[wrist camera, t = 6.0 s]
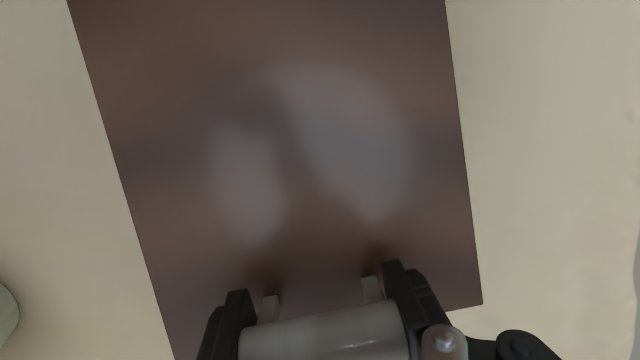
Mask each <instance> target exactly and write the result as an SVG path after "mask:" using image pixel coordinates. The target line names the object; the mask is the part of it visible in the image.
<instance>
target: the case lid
mask: <svg viewBox="0 0 640 360" xmlns="http://www.w3.org/2000/svg"><path fill="white" fill-rule="evenodd" d="M66 1H67V4H68V7H69V11H70V14H71V17H72V21H73V24H74V27H75V31H76V34H77V37H78V40H79V44H80V47H81V50H82V54H83V57H84V60H85V64H86V67H87V70H88V74H89V77H90V80H91V84H92V87H93V90H94V93H95V97H96V100H97V103H98V107H99V110H100V113H101V117H102V120H103V123H104V127H105V130H106V133H107V137H108V140H109V143H110V146H111V150H112V153H113V156H114V160H115V163H116V166H117V170H118V173H119V176H120V180H121V183H122V186H123V190H124V193H125V196H126V199H127V203H128V206H129V209H130V213H131V216H132V219H133V223H134V226H135V229H136V233H137V236H138V239H139V243H140V246H141V249H142V252H143V256H144V259H145V262H146V266H147V269H148V272H149V276H150V279H151V282H152V286H153V289H154V292H155V296H156V299H157V302H158V305H159V309H160V312H161V315H162V319H163V322H164V325H165V329H166V332H167V335H168V339H169V342H170V345H171V349H172V352H173V355H174V358H175V360H196V358H197V355H198V351H199V348H200V345H201V342H202V340H203V335H204V332H205V330H206V325H207V322H208V319H209V317H210V315H211V314H212V313H213V311H214V310H215V309H216V307H218V306H223V305H224V304H225V300H226V297H227V293H228V292H229V291H233V290H238V289H243V288H247V289H248V291H249V293H250V296H251V299H252V302H253V305H254V308H255V311H256V314H257V322H256V326H251V327H246V328H244V329H242V331H241V333H240V336H239V341H238V360H409V359H410V350H409V344H408V339H407V334H406V330H405V326H404V323H403V319H402V316H401V313H400V310H399V308H398V305H397V303H396V301H395V300H394V299H386V295H385V289H384V282H383V274H382V267H381V262H382V261H387V260H392V259H397V258H399V259H400V261H401V263H402V265H403V267H404V269H405V270H408V269H413V268H415V269H416V270H418V271H419V272H420V273H422V274H423V275H424V276H425V278H426V280H427V281H428V283H429V285H430V287H431V289H432V290H433V292H434V295H435V296H436V297H437V299H438V301H439V303H440V305H441V306H442V308H443V310H444V312H448V311H453V310H458V309H463V308H468V307H473V306H478V305H482V304H483V298H482V290H481V282H480V274H479V267H478V259H477V251H476V243H475V235H474V227H473V219H472V211H471V204H470V196H469V188H468V180H467V172H466V164H465V156H464V148H463V141H462V133H461V125H460V117H459V109H458V101H457V93H456V85H455V78H454V70H453V62H452V54H451V46H450V38H449V30H448V22H447V15H446V7H445V0H66Z"/></svg>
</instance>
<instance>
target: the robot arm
mask: <svg viewBox="0 0 640 360" xmlns="http://www.w3.org/2000/svg"><path fill="white" fill-rule="evenodd" d="M381 267H382V274H383V282H384V289H385V295H386V299H394V300H395V301H396V303H397V305H398V308H399V310H400V313H401V316H402V319H403V323H404V326H405V330H406V334H407V339H408V344H409V350H410V359H409V360H562V359H561V358H560V357H558V356H557V355H556V354H555V353H554V352H553V351H552V350H551V349H550V348H549V347H548V346H546V345H545V344H544V343H543V342H542V341H541V340H540V339H539V338H537V337H536V336H534V335H532V334H530V333H528V332H525V331H522V330H506V331H504V332H502V333H500V334H499V335H498V336H497V339H496V341H491V340H480V339H474V338H470V337H468V336H465V335H464V334H463V333H462V332H461V331H460V330H458V329H457V328H455V327H453V326H452V324H451V323H450V321H449V319H448V317H447V315H446V314H445V312H444V310H443V308H442V306H441V305H440V303H439V301H438V299H437V297H436V296H435V295H434V292H433V290H432V289H431V287H430V285H429V283H428V281H427V280H426V278H425V276H424V275H423V274H422V273H420V272H419V271H418V270H416V269H415V268H413V269H408V270H405V269H404V267H403V265H402V263H401V261H400V259H399V258H397V259H392V260H387V261H382V262H381ZM256 322H257V314H256V311H255V308H254V305H253V302H252V299H251V296H250V293H249V291H248V289H247V288H243V289H238V290H233V291H229V292H228V293H227V297H226V300H225V304H224V305H223V306H218V307H216V309H215V310H214V311H213V313H212V314H211V315H210V317H209V319H208V322H207V325H206V330H205V332H204V335H203V340H202V342H201V345H200V348H199V351H198V355H197V358H196V360H238V341H239V336H240V333H241V331H242V329H244V328H246V327H251V326H256Z"/></svg>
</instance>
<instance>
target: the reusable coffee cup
mask: <svg viewBox="0 0 640 360" xmlns="http://www.w3.org/2000/svg"><path fill="white" fill-rule="evenodd" d="M18 321H19V309H18V305H17V303H16V301H15V299H14V297H13V296H12V294H11V293H10V292H9V291H8V289H7V288H6V287H4V286H3V285H2V284H1V283H0V348H1V347H2V345H3V344H4V343H5V341H6V340H7V338H8V337H9V336H10V334H11V333H12V332H13V330H14V329H15V328H16V326H17V324H18Z"/></svg>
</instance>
